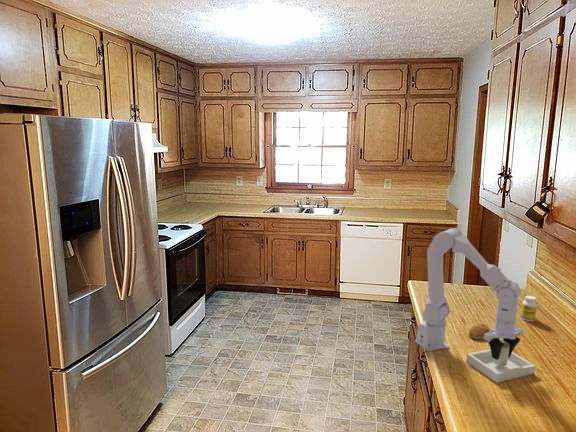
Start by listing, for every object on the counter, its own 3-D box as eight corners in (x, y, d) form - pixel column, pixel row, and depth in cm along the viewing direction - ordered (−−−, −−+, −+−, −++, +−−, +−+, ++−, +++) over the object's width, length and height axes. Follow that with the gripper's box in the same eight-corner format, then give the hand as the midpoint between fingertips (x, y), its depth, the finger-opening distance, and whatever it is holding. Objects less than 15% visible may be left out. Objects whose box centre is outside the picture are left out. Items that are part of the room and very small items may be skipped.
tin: (499, 366, 136) (501, 347, 135) (489, 359, 141) (491, 340, 139) (510, 365, 138) (513, 345, 136) (500, 357, 142) (502, 339, 141)
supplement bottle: (521, 320, 176) (524, 298, 174) (519, 315, 181) (522, 294, 179) (535, 322, 174) (539, 300, 172) (533, 317, 179) (536, 296, 177)
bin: (496, 382, 131) (497, 374, 130) (466, 361, 143) (467, 353, 142) (534, 374, 136) (535, 365, 135) (502, 354, 148) (503, 346, 147)
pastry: (481, 343, 156) (482, 333, 156) (463, 336, 161) (464, 327, 160) (491, 335, 163) (492, 326, 162) (474, 329, 167) (475, 320, 167)
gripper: (497, 327, 130) (493, 367, 133) (532, 321, 135) (527, 359, 137) (480, 318, 136) (476, 356, 139) (514, 312, 141) (509, 349, 144)
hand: (500, 357), depth 139 cm, fingers closed on tin, 4 cm apart
